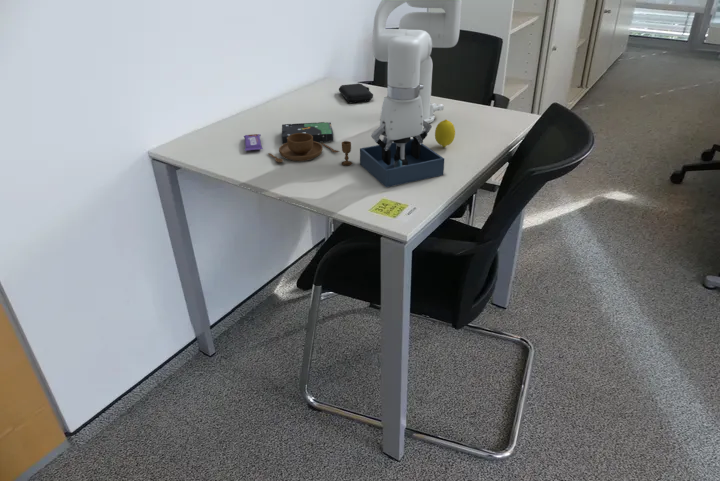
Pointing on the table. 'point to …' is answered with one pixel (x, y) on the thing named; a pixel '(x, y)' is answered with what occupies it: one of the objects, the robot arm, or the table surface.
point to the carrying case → (355, 93)
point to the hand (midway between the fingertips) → (401, 159)
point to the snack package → (252, 142)
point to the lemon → (445, 133)
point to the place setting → (307, 149)
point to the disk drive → (309, 131)
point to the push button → (400, 152)
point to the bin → (414, 171)
